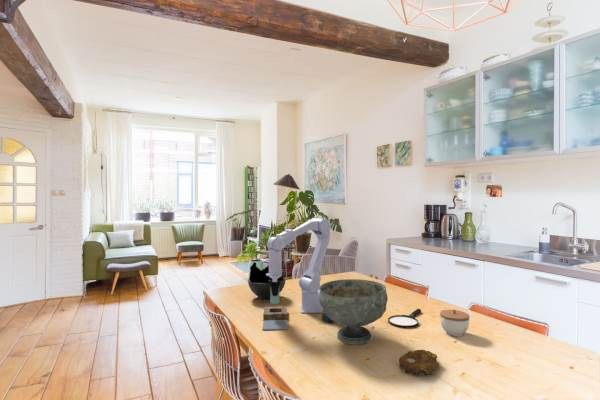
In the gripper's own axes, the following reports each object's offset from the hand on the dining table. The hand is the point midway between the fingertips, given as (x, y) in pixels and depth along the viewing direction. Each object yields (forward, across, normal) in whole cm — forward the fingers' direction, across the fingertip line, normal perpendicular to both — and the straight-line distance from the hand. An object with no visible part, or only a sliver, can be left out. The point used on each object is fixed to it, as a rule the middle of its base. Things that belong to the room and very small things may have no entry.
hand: (275, 294), depth 158 cm
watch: (+11, +5, +24) cm, 27 cm away
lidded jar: (+10, +22, +71) cm, 75 cm away
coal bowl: (+11, -31, -5) cm, 33 cm away
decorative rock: (+11, +47, +47) cm, 68 cm away
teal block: (+4, 0, 0) cm, 4 cm away
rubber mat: (+10, +10, 0) cm, 14 cm away
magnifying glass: (+11, +5, +59) cm, 60 cm away
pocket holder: (+10, -2, 0) cm, 11 cm away
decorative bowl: (+11, +24, +30) cm, 40 cm away
